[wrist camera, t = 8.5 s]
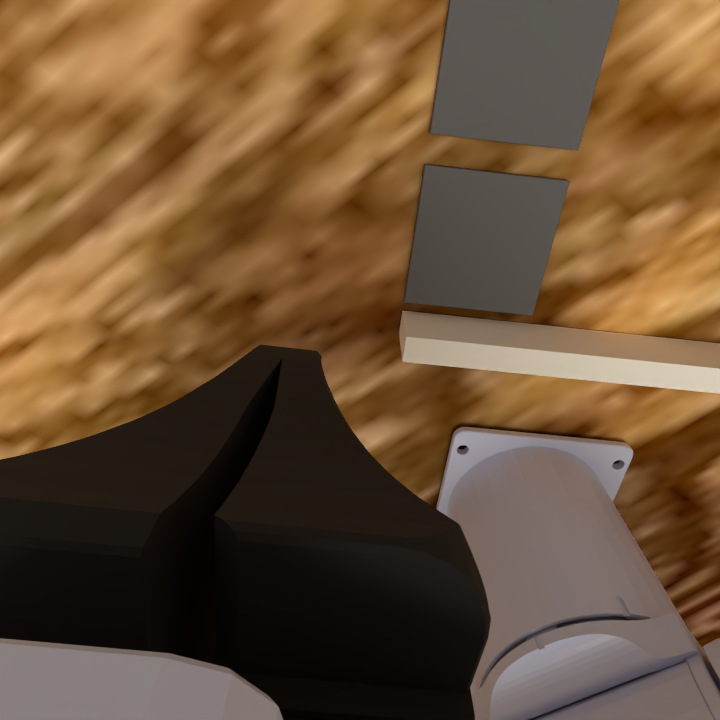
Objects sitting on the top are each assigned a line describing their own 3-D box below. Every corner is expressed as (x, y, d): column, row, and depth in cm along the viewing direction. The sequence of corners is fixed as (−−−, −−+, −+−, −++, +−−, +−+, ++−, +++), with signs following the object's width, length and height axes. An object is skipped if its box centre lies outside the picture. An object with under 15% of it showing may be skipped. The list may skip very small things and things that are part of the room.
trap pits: (529, 311, 21) (532, 315, 20) (404, 298, 20) (404, 302, 20) (622, -30, 16) (628, -33, 15) (457, -51, 15) (459, -55, 15)
